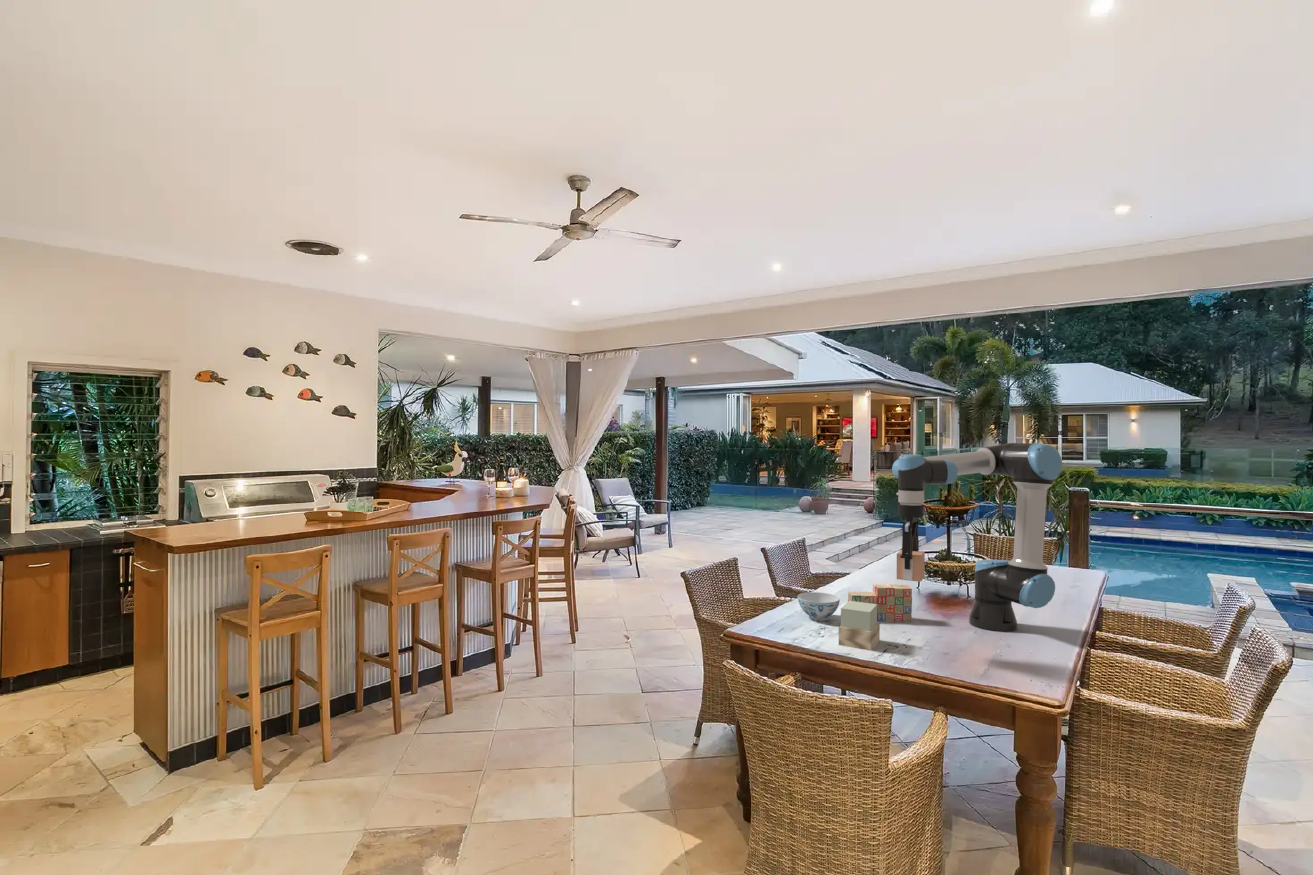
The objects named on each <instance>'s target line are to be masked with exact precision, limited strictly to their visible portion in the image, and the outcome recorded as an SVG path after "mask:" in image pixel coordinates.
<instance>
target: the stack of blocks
mask: <svg viewBox="0 0 1313 875" xmlns="http://www.w3.org/2000/svg"><path fill="white" fill-rule="evenodd" d="M847 592H848V593H847V602H848V601H856V602H863V603H871V604H877V622H894V623H896V622H897V623H912V613H913V612H912V611H913V610H912V609H913V595H912V594H913V589H912V587H910V586H908V585H907V584H898V583H890V584H889V583H888V584H887V583H885V584H884V583H873V584H872V591H852V590H851V591H849V590H848V591H847Z"/></svg>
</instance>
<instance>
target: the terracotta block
mask: <svg viewBox="0 0 1313 875" xmlns="http://www.w3.org/2000/svg"><path fill="white" fill-rule="evenodd" d="M925 553H926V552H925V551H919V552H917V551H912V559H913V580H906V579H903V558H901V557H900V556H902V549H901V550H899V551H898V552H897V553H896V580H900V581H910V582H918V583H919V582H920V583H921V582H922V581H923V579H925V578H926V577H925V574H926V573H925V572H926V570H925V569H926V568H925V566H926V565H925V564H926V563H925V562H926V561H925V555H926V554H925ZM906 554H908V553H906Z"/></svg>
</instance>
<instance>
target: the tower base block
mask: <svg viewBox="0 0 1313 875" xmlns="http://www.w3.org/2000/svg"><path fill="white" fill-rule="evenodd" d="M880 626H881V625H880V622H879V621H877V623H876V624H875V626H874V627H873V628H872V629H871V630H870V631H865V630H858V629H851V628H845V627H841V624H840V626H838V646H843V647H847V648H854V649H859V650H867V651H872V650H873V648H874V647H875V646H876V645H877V644H878V642H880V638H881V637H880V635H881V634H880V633H881V632H880V631H881V630H880V628H881V627H880Z"/></svg>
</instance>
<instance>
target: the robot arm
mask: <svg viewBox="0 0 1313 875" xmlns="http://www.w3.org/2000/svg"><path fill="white" fill-rule="evenodd" d="M891 470H892V471H891V472H892V475H893V476H894V478H896V479H897V481H898V482H897V487H898V488H897V489H898V490H897V491H898V492H896V496H898V503H899V504H898V505H897V515H898V517H902V518H903V517H904V521H903V523H902V526H901V529H902V535H901V536H902V539H901V540H902V541H901V550H902V556H900V557H901V558H903V579H906V580H905V581H908V580H913V559H912V551H917V552H920V549H919V548H920V547H919V546H920V545H919V543H920V542H919V524H920V522H919V520H917V518H923V517H924V515H925V514H924V513H925V511H924V510H925V509H924V508H925V506H924V505H923V504H924V503H925V485H944V486H945V485H948V484H950V485H951V484H953V483H955V482H956V481H957V479H958V476H963V475H972V474H981V475H984V476H985V475H986V476H987V475H998V476H1004V477H1005V476H1007V477H1012V483H1013V484H1014V485H1015V487H1016V490H1017V491H1016V503H1015V504H1016V507H1015V508H1016V510H1015V523H1014V541H1013V554H1012V555H1013V557H1012V559H1011V560H1009V559H980V560H978V561H976V563H975V568H974V569H975V570H974V603H973V604H972V608H971V610H970V613H969V616H968V617H969V619H968V622H969V624H970V625H972V626H973V627H976V628H979V629H983V630H990V631H995V632H1012V631H1015V630H1017V629H1018V620H1017V618H1016V615H1015V612H1014V609H1013V604H1012V603H1015V604H1017V605H1018V604H1019V605H1021V606H1024V607H1027V608H1028V607H1029V608H1033V609H1041V608H1043V607H1045V606H1047V605H1048V603H1050V602H1051V601H1052V599H1053V597H1054V595H1055V591H1056V583H1055V581H1054V580H1053V577H1052V576H1050V574H1048V566H1047V565H1046V564H1045V562H1044V561H1043V560H1044V541H1045V527H1046V526H1045V525H1046V510H1047V508H1046V507H1047V491H1048V490H1049V489H1050V488H1051V487H1052V486H1053V484H1054V483H1053V482H1054V480H1055V479H1057V478H1058V477H1059V476H1060V474H1061V473H1062V470H1063V460H1062V457H1061V454H1060V453H1059V451H1057V449H1056V448H1055V447H1054V446H1053V445H1050V444H1048V443H1047V444H1046V443H1045V444H1044V443H1039V442H1035V443H1033V442H1031V443H1028V442H1027V443H1025V442H1024V443H1021V442H1020V443H1019V442H1018V443H1017V442H1008V443H1001V444H996V445H991V446H984V447H979V448H978V449H977V450H976V451H967V452H959V453H950V454H942V455H941V454H940V455H932V456H924V455H922V454H909V453H908V454H905V453H904V454H901V455H900V456H898V459H896V460H895V461H894V462H893V464H892V467H891ZM906 553H908V554H906Z"/></svg>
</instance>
